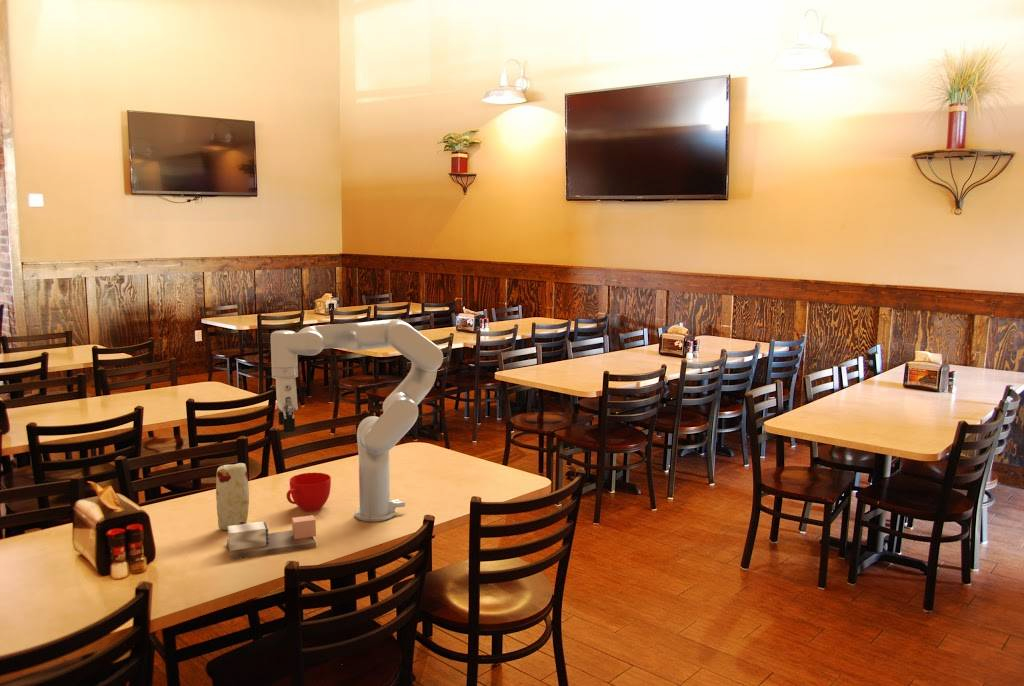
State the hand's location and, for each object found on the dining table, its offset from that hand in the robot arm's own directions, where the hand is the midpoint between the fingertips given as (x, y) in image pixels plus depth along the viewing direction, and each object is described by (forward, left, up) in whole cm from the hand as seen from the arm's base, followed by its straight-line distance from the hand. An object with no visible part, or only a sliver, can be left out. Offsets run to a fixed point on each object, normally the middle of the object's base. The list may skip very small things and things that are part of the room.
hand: (286, 428), depth 244 cm
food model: (+16, -4, -31) cm, 35 cm away
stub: (-2, +15, -29) cm, 32 cm away
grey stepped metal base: (+8, +15, -30) cm, 35 cm away
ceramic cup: (-7, -11, -31) cm, 33 cm away
